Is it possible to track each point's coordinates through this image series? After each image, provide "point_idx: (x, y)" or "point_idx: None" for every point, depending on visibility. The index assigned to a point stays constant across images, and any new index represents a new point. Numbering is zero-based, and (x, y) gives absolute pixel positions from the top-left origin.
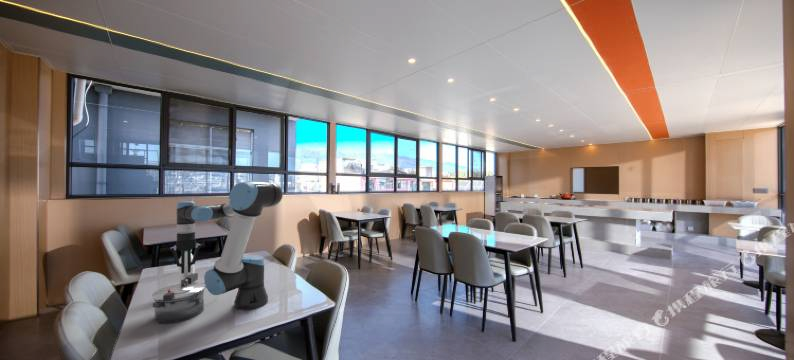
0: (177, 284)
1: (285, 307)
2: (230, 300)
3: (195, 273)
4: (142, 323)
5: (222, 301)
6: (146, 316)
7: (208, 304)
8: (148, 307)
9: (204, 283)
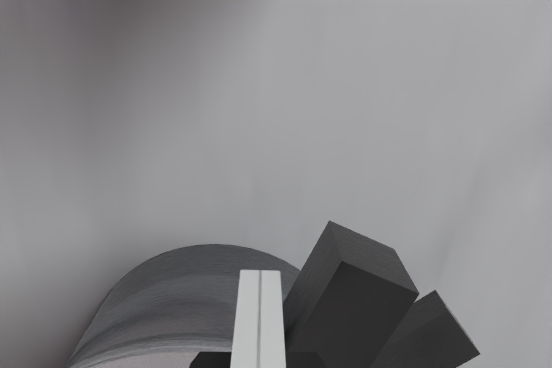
0: (171, 362)
1: None
2: (513, 326)
3: (388, 287)
4: (35, 355)
5: (469, 311)
6: (35, 261)
7: None
8: (9, 74)
9: (422, 342)
